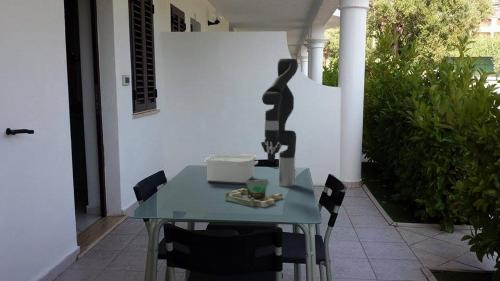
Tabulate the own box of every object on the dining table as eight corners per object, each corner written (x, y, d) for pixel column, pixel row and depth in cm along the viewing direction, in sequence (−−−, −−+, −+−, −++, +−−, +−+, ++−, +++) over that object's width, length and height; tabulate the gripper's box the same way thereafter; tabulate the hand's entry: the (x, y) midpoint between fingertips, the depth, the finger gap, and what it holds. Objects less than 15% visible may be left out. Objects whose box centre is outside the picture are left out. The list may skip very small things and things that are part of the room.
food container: (248, 200, 239) (248, 181, 238) (245, 197, 245) (245, 179, 244) (270, 198, 242) (270, 180, 241) (267, 196, 248) (267, 178, 247)
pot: (197, 183, 280) (197, 159, 278) (212, 174, 308) (212, 153, 306) (251, 186, 272) (252, 162, 270) (262, 177, 299) (262, 155, 298)
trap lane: (249, 191, 259) (249, 184, 259) (289, 199, 241) (289, 192, 241) (218, 198, 241) (218, 191, 241) (259, 208, 223) (259, 200, 222)
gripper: (285, 129, 246) (285, 161, 248) (266, 127, 255) (265, 158, 257) (277, 130, 240) (276, 162, 242) (257, 128, 249) (257, 159, 251)
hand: (271, 160), depth 249 cm, fingers closed
